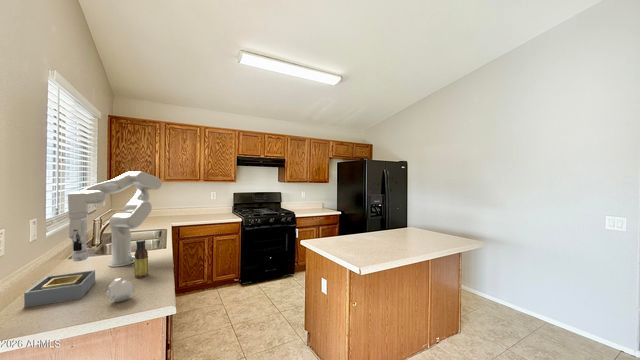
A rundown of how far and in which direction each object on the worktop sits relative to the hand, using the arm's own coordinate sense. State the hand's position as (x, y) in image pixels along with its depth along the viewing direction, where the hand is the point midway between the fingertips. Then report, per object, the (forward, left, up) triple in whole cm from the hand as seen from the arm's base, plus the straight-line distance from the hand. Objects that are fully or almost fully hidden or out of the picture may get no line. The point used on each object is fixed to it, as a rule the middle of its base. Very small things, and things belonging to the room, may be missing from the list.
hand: (79, 248), depth 137 cm
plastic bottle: (0, 0, -7) cm, 7 cm away
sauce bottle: (-29, +12, -16) cm, 35 cm away
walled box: (0, +20, -16) cm, 25 cm away
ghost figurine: (-25, +41, -16) cm, 50 cm away
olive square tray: (0, +20, -16) cm, 25 cm away
